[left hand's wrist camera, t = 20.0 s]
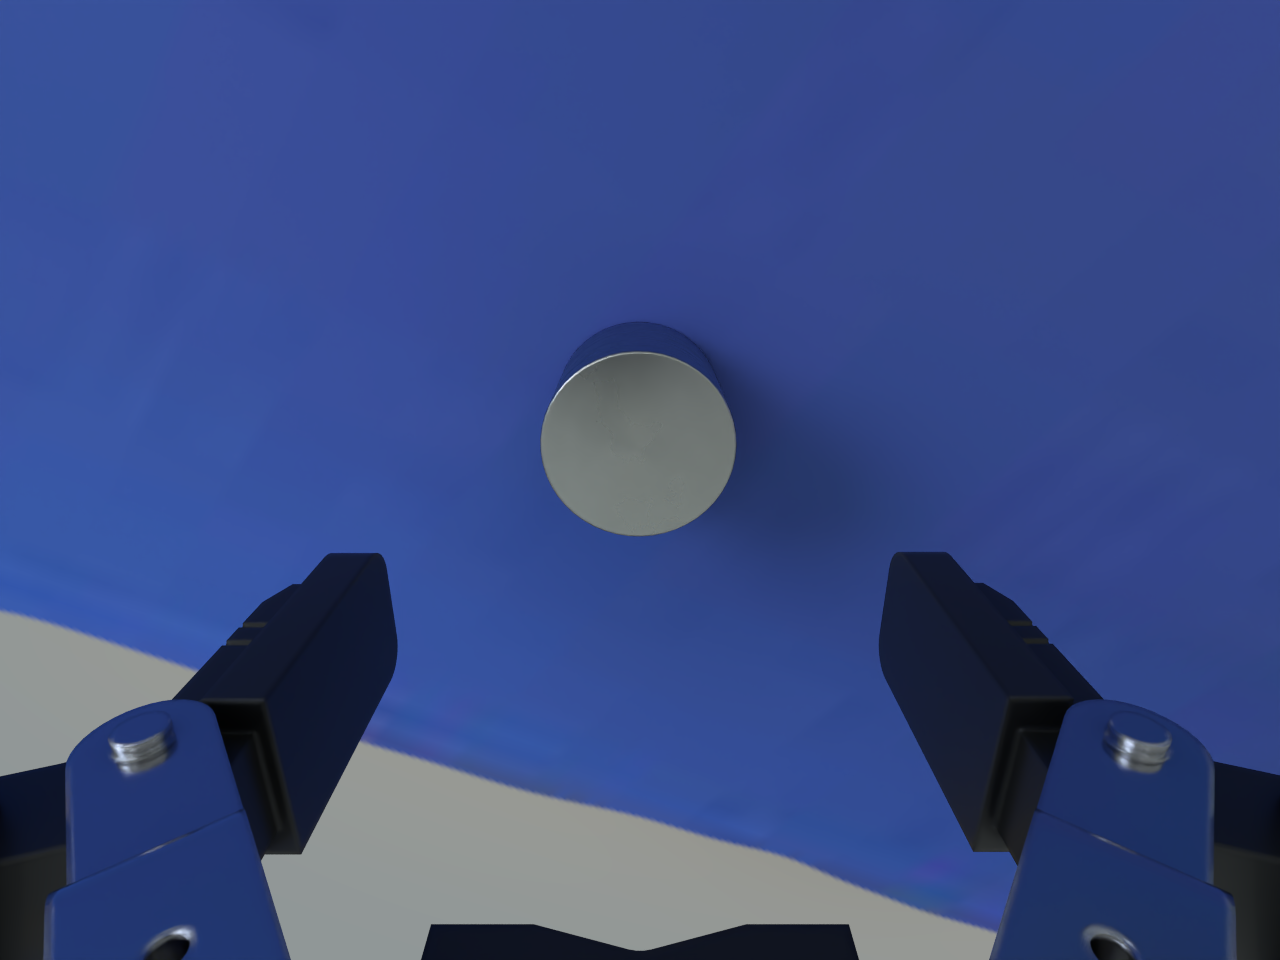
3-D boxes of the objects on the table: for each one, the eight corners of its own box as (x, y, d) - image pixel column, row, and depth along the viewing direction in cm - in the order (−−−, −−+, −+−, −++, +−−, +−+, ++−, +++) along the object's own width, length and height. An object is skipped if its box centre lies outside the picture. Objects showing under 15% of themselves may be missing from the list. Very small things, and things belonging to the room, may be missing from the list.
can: (563, 313, 21) (545, 340, 17) (730, 330, 21) (751, 362, 17) (553, 469, 23) (535, 528, 19) (707, 484, 23) (721, 545, 19)
